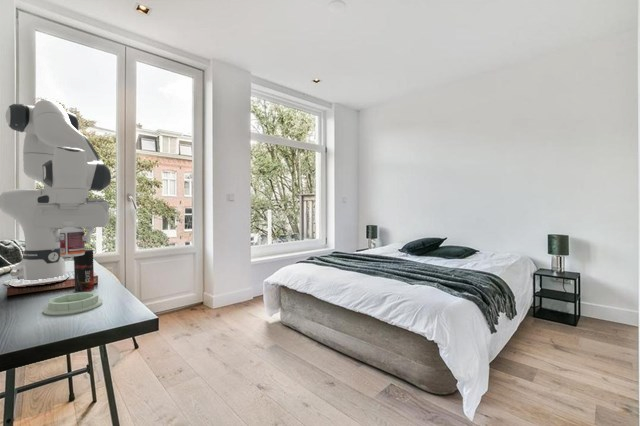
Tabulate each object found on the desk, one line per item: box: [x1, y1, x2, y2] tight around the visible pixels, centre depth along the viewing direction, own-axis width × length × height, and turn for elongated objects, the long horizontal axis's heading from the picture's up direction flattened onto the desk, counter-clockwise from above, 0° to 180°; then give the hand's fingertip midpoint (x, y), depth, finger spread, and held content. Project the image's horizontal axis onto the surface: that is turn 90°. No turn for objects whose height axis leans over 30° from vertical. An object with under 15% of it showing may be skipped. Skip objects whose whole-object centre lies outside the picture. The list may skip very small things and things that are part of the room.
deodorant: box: [73, 248, 95, 293], centre depth 122 cm, size 6×6×15 cm
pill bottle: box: [59, 221, 86, 258], centre depth 101 cm, size 6×6×11 cm
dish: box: [42, 291, 103, 316], centre depth 101 cm, size 15×15×3 cm
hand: (72, 241), depth 101 cm, fingers closed on pill bottle, 6 cm apart
